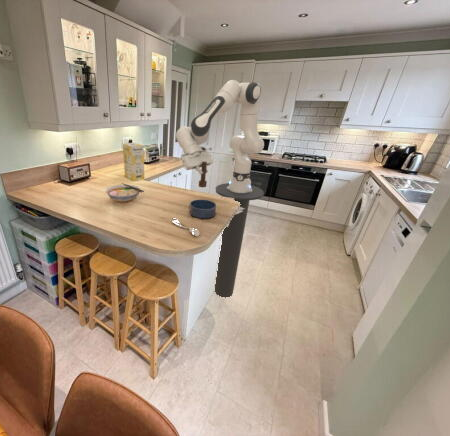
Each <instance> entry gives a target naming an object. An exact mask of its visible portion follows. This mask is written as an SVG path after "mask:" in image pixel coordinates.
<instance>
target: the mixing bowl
mask: <svg viewBox="0 0 450 436" xmlns="http://www.w3.org/2000/svg"><path fill="white" fill-rule="evenodd" d="M216 212H217V203H215V202H214V201H213V200H208V199H193V200H191V201H190V202H189V215H191V216H193V217H194V218H198V219H210V218H213V217H215V216H216V214H217V213H216Z"/></svg>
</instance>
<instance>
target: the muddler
mask: <svg viewBox="0 0 450 436" xmlns="http://www.w3.org/2000/svg"><path fill="white" fill-rule="evenodd" d="M206 166H207V162H205V161H203V162H202V167H201V168H200V169H201V170H203V172H204V173H203V174H201V175H200V180H198V188H206V187H207V184H208V183H207V182H208V181H207V180H206V176H207V173H206ZM207 167H208V166H207Z"/></svg>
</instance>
